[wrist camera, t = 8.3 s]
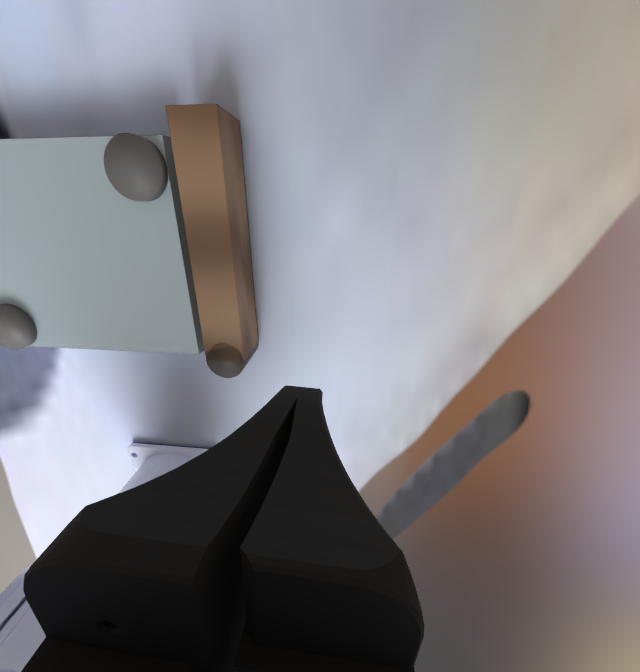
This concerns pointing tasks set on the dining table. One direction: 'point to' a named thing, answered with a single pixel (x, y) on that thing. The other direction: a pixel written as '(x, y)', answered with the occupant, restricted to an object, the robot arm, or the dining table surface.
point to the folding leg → (216, 231)
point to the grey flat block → (94, 246)
